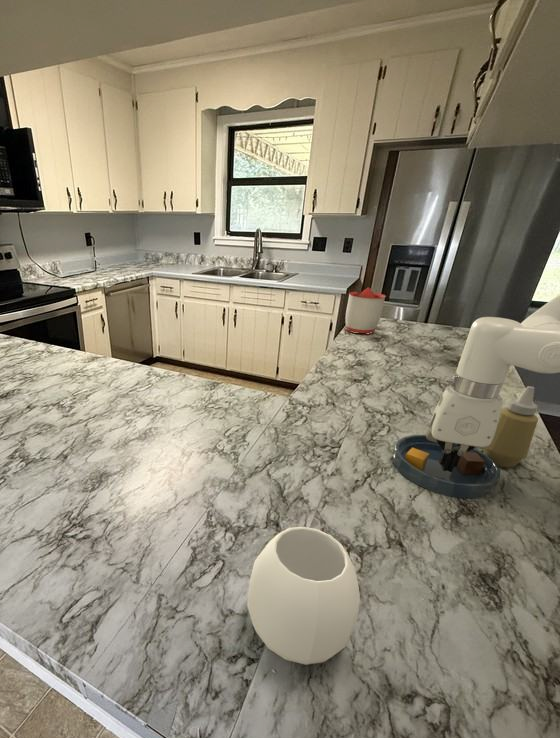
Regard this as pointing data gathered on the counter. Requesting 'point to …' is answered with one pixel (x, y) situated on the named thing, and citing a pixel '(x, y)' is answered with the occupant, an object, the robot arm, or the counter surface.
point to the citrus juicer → (364, 311)
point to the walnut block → (470, 464)
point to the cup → (304, 595)
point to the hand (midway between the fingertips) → (445, 467)
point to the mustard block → (417, 458)
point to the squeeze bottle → (514, 431)
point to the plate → (444, 480)
